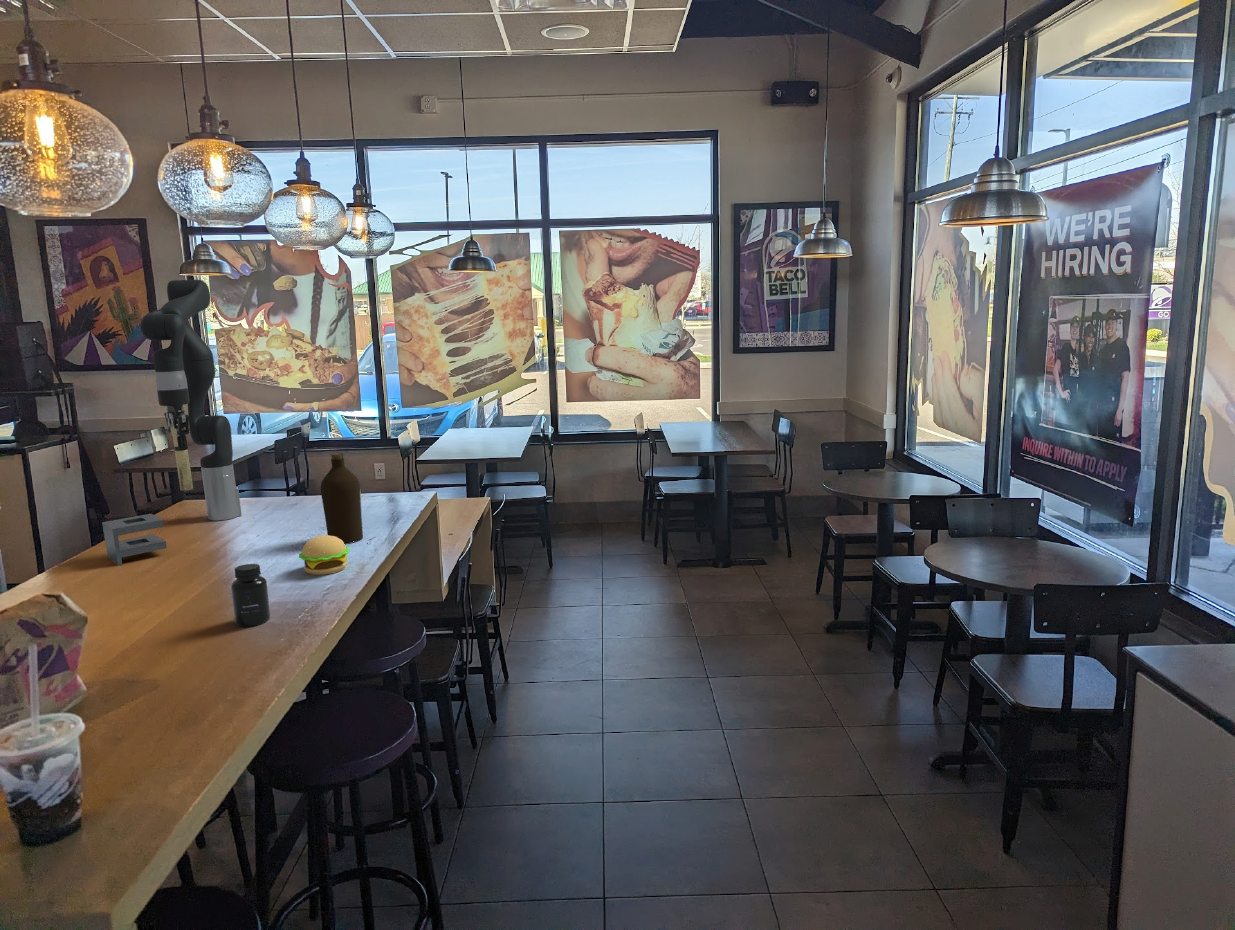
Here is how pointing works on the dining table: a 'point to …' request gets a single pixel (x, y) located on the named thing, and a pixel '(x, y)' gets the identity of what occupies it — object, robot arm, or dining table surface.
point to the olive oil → (342, 502)
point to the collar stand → (133, 545)
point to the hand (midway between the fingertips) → (181, 448)
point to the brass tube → (182, 465)
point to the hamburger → (324, 555)
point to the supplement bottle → (250, 596)
